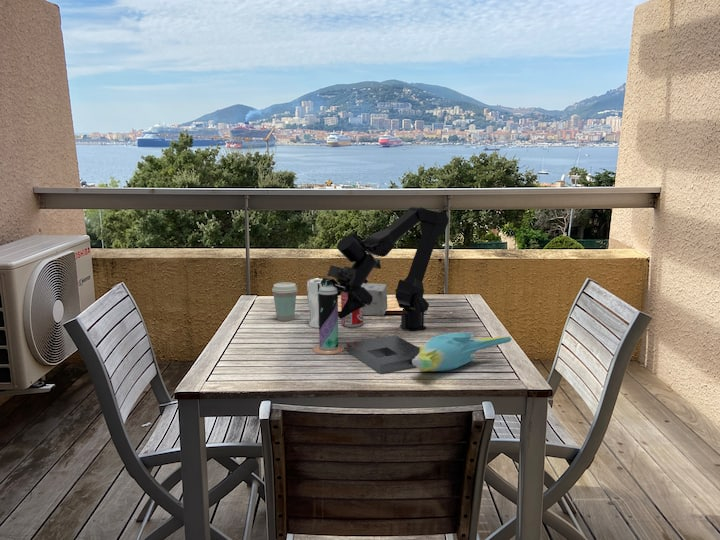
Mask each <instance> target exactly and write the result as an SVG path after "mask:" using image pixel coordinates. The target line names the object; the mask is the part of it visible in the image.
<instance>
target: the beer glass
mask: <svg viewBox="0 0 720 540" xmlns="http://www.w3.org/2000/svg"><path fill="white" fill-rule="evenodd" d="M322 280H323V278H319V277H317V278H310V279H308V280H307V284H306V298H307V304H308V308H309V309H308V310H309V322H308V323H309V324H308V326H309V327H311V328H318V329H319V288H321V287H322V285H321V284H320V282H321V281H322Z"/></svg>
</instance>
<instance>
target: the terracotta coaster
mask: <svg viewBox="0 0 720 540" xmlns="http://www.w3.org/2000/svg"><path fill="white" fill-rule="evenodd" d="M344 350H345V347H344V346H343V345H342V344H341V343H340V344H339V343H338V349H336V350H333V351H324V350H321V349H320V347H319V344H316V345H314V346H313V347H312V351H313V352H314V353H316V354H317V355H318V354H319V355H326V356H327V355H329V356H330V355H336V354H340V353H342V352H343V351H344Z"/></svg>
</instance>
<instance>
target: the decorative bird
mask: <svg viewBox="0 0 720 540" xmlns="http://www.w3.org/2000/svg"><path fill="white" fill-rule="evenodd" d="M473 337H474V334H472V333H467V332H452V333H444V334H439V335H436V336H433V337H432V338H430V339H429V340H428V341H427V342H425V343H424V344H422V346H421V347H419V348H420V351H419V354H418V355H417V356H415V358H414V359H411V360H410V361H409V364H411V365H414V366H416V367H415V368H416V369H420V371H422V372H445V371H452V370H455V369H457V368H460V367H462V366H464V365H466V364H468V363H470V362H472V361H473V360H474V359H475V358H476V356H471V355H472V354H474V353H476V352H478V351H479V350H483V349H486V348H490V347H491V348H492V347H494V346H498V345H503V344H506V343H510V342H511V340H512V338H511V337H510V336H499V337H487V338H473Z"/></svg>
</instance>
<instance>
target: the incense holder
mask: <svg viewBox="0 0 720 540" xmlns="http://www.w3.org/2000/svg"><path fill="white" fill-rule="evenodd" d="M361 287H364V288H365V289H366V290H367V291H368V292H369V293H370V294H371V295H372V296H373V301H372V302H371V304H370V305H369V306H368V305H366V306H365V307H363V316H375V317H376V316H378V317H383V316H385V314H386V312H387V310H388V290H387V284H386V283H369V282H367V284H364V283H363V284H362V286H361Z"/></svg>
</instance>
